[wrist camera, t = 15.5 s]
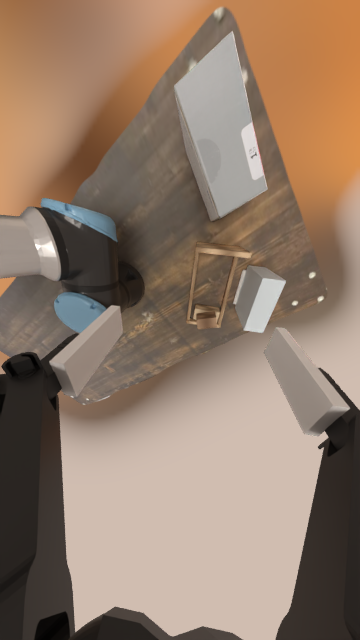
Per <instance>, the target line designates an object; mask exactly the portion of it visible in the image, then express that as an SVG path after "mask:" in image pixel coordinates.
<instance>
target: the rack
mask: <svg viewBox="0 0 360 640" xmlns="http://www.w3.org/2000/svg"><path fill="white" fill-rule="evenodd" d="M195 252H196V253H195V261H194V268H193V276H192V283H191V291H190V299H189V306H188V314H187V321H186V323H189V324H197V321H196V320H195V319H192V318H190V313H191V306H192V299H193V292H194V285H195V278H196V271H197V264H198V257H199V252H200V253H209V254H218V255H226V256H234V257H233V261H232V265H231V269H230V273H229V277H228V281H227V285H226V289H225V293H224V297H223V301H222V305H221V309H220V314H219V318H218V321H217V327H219V328H220V326H221V321H222V317H223V314H224V310H225V306H226V302H227V298H228V295H229V291H230V287H231V283H232V280H233V276H234V272H235V268H236V265H237V261H238V257H244V258H250V257H251V254H252V253H250V252H248V251H247V250H245V249H243V248H241V247H239V246H230V245H221V244H212V243H203V242H197V244H196V250H195Z"/></svg>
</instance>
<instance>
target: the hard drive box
mask: <svg viewBox="0 0 360 640" xmlns="http://www.w3.org/2000/svg"><path fill="white" fill-rule="evenodd" d="M174 93H175V98H176V102H177V108H178V113H179V118H180V123H181V129H182V134H183V139H184V144H185V149H186V153H187V156H188V159H189V162H190V165H191V167H192V170H193V173H194V176H195V178H196V181H197V184H198V187H199V190H200V193H201V195H202V198H203V201H204V204H205V207H206V209H207V212H208V215H209V218H210V221H212V222H213V221H215V220H217V219H220V218H222V217H223V216H225V215H227V214H228V213H230V212H232V211H233V210H235V209H237V208H238V207H240V206H242V205H243V204H245V203H247V202H248V201H250V200H251V199H253V198H255V197H256V196H258V195H259V194H261V193H263V192H264V191H266V190H267V189H268V188H267V184H266V180H265V175H264V170H263V166H262V161H261V157H260V152H259V148H258V143H257V139H256V135H255V130H254V126H253V122H252V118H251V113H250V109H249V104H248V99H247V94H246V89H245V85H244V80H243V76H242V72H241V67H240V62H239V58H238V54H237V49H236V44H235V40H234V35H233V31H232V32H231V33H229V34H228V35H227V36H226V37H225V38H224V39H223V40H222V41H221V42H220V43H219V44H218V45H217V46H216V47H215V48H213V49H212V50H211V51H210V52H209V53H208V54H207V55H206V56H205V57H204V58H203V59H202V60H201V61H200V62H199V63H198V64H197V65H195V66H194V67H193V68H192V69H191V70H190V71H189V72H188V73H187V74H186V75H185V76H184V77H183V78H182V79H181V80H180V81H179V82H178V83H177V84H176V85H174Z"/></svg>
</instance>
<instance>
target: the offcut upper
mask: <svg viewBox="0 0 360 640" xmlns="http://www.w3.org/2000/svg"><path fill="white" fill-rule="evenodd" d="M196 321H197V327H198V329H206V328H215V327H217V321H216V314H215V311H212V312H204V313H197V314H196Z"/></svg>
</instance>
